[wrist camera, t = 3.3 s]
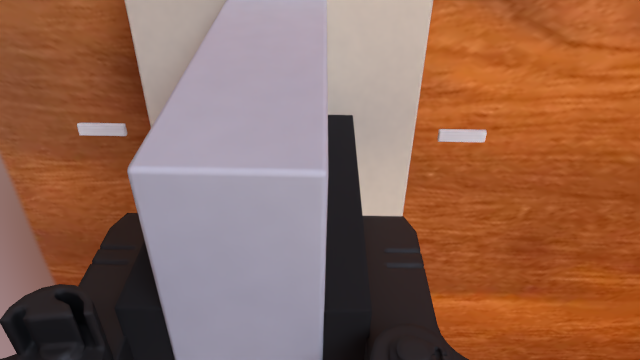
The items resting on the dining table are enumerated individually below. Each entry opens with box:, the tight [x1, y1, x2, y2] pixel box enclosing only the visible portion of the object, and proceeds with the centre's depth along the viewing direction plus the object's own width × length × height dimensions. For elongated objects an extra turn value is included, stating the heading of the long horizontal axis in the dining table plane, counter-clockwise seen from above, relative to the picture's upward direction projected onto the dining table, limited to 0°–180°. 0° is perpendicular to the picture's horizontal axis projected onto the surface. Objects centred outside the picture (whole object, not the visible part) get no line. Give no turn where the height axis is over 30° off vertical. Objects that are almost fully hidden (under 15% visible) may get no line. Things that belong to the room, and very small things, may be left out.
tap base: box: [77, 0, 487, 216], centre depth 16 cm, size 12×12×3 cm
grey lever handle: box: [127, 0, 328, 360], centre depth 11 cm, size 8×2×8 cm, turn 179°
